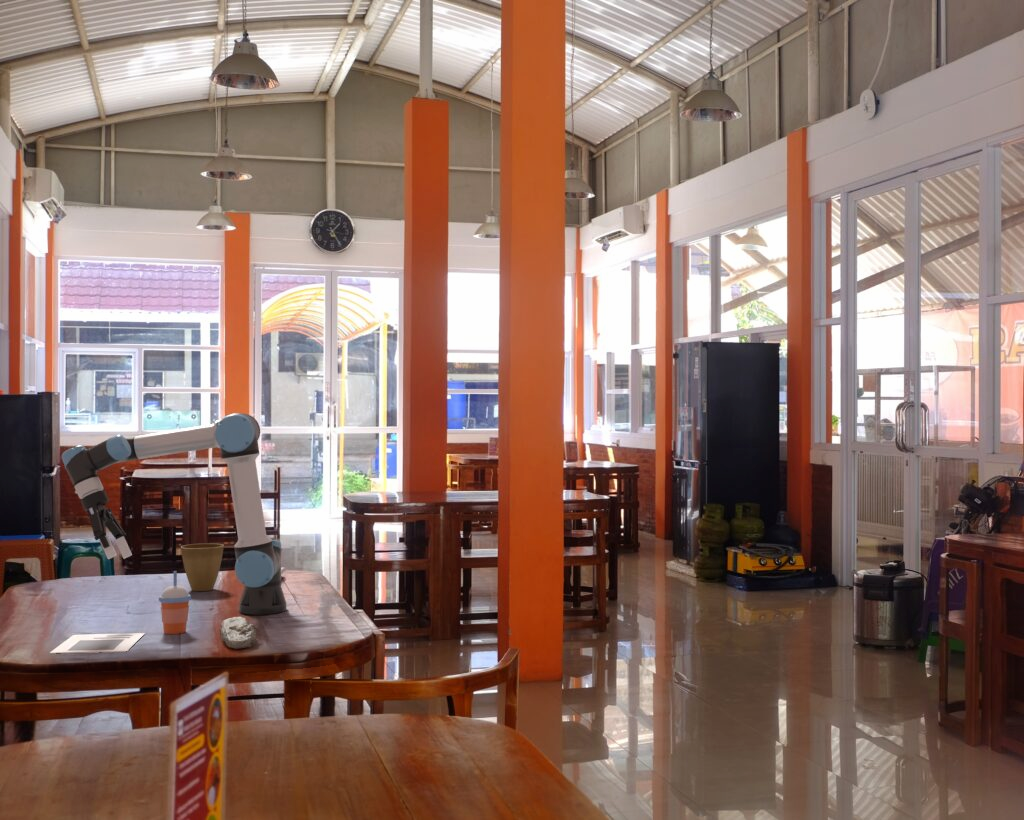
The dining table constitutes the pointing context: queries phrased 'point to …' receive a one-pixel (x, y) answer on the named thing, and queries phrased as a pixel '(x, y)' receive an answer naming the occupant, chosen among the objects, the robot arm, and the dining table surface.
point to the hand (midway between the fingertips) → (120, 557)
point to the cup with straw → (174, 608)
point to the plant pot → (202, 564)
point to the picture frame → (98, 643)
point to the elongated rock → (238, 632)
